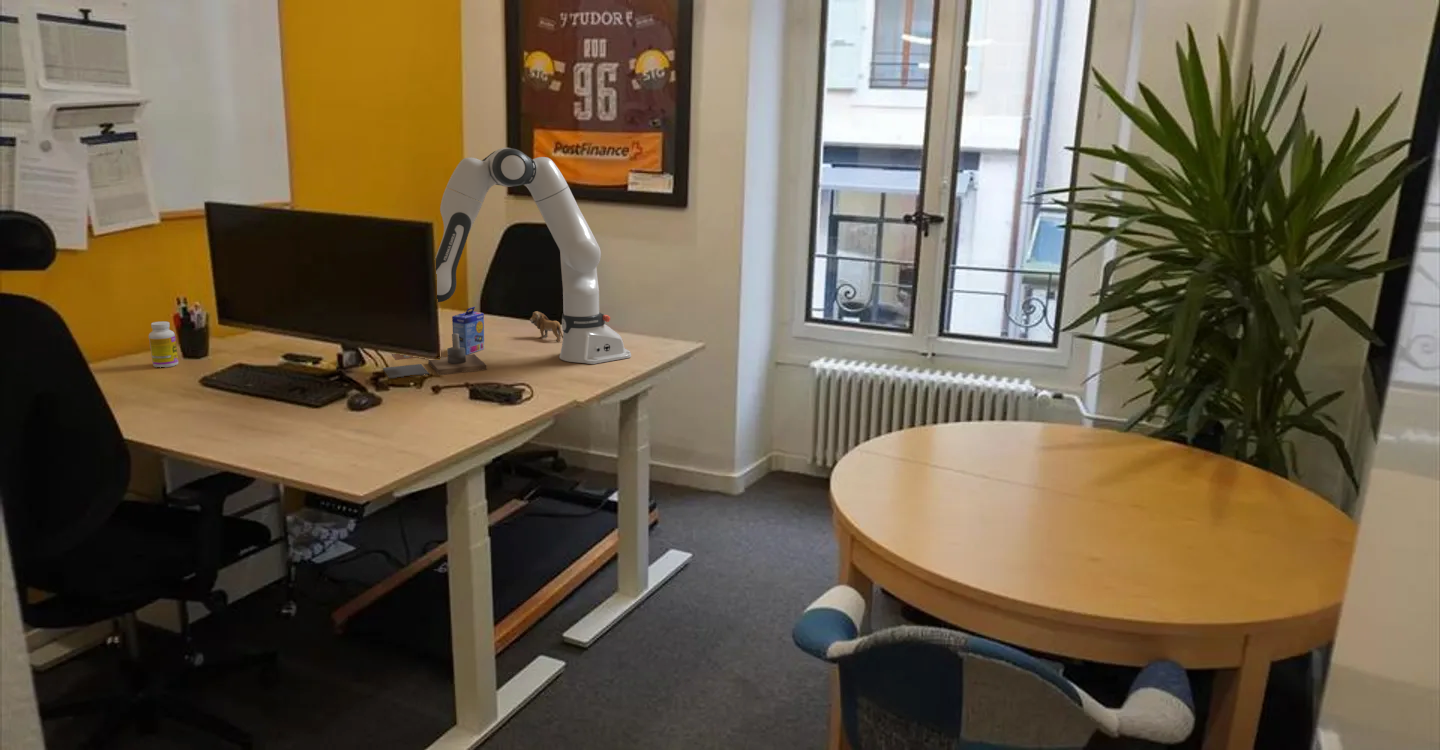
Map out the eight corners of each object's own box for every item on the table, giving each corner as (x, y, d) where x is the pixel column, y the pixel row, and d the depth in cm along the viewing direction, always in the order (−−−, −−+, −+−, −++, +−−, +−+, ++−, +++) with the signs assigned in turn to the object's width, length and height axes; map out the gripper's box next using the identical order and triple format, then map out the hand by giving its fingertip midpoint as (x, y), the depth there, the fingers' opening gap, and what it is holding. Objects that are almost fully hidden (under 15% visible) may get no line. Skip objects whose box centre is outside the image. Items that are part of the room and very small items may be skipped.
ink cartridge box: (466, 355, 301) (464, 310, 297) (452, 353, 303) (450, 308, 299) (486, 349, 310) (484, 305, 306) (472, 347, 312) (469, 303, 308)
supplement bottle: (178, 367, 282) (172, 324, 278) (152, 369, 279) (146, 326, 275) (179, 361, 287) (173, 319, 284) (153, 363, 285) (147, 321, 281)
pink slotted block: (412, 353, 284) (412, 343, 283) (416, 358, 279) (416, 348, 278) (391, 355, 281) (390, 345, 280) (395, 360, 276) (394, 350, 275)
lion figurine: (527, 337, 326) (527, 312, 323) (537, 334, 330) (537, 309, 328) (562, 343, 319) (562, 317, 317) (572, 340, 324) (571, 314, 321)
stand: (474, 358, 297) (472, 327, 295) (486, 369, 286) (484, 337, 283) (428, 363, 291) (426, 331, 288) (438, 374, 279) (436, 341, 276)
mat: (421, 365, 289) (421, 363, 288) (429, 374, 279) (428, 372, 279) (383, 369, 283) (383, 367, 283) (389, 378, 274) (389, 377, 274)
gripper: (419, 313, 269) (422, 361, 273) (405, 300, 286) (408, 345, 290) (396, 315, 266) (399, 363, 270) (383, 302, 283) (386, 347, 287)
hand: (404, 354), depth 280 cm, fingers closed on pink slotted block, 6 cm apart
